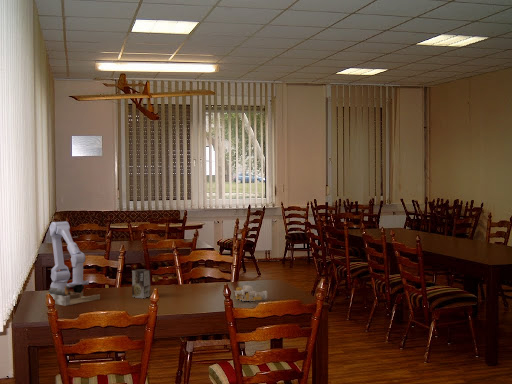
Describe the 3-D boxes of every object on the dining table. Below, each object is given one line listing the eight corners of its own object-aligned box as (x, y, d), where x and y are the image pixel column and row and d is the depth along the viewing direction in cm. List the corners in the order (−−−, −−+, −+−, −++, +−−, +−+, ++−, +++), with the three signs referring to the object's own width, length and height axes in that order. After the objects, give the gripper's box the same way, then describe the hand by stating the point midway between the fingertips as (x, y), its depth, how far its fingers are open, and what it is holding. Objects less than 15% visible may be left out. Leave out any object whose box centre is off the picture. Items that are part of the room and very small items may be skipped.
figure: (271, 300, 398) (272, 285, 397) (253, 305, 383) (254, 289, 383) (247, 297, 408) (247, 282, 407) (229, 301, 393) (229, 285, 393)
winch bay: (46, 303, 382) (46, 283, 382) (81, 296, 403) (81, 278, 402) (66, 306, 373) (66, 286, 373) (100, 299, 394) (100, 281, 393)
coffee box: (150, 297, 404) (151, 270, 404) (143, 298, 399) (143, 271, 398) (138, 295, 409) (139, 268, 408) (131, 297, 403) (131, 270, 403)
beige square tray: (57, 301, 384) (57, 293, 384) (70, 299, 391) (70, 291, 391) (68, 303, 379) (68, 295, 379) (81, 301, 386) (81, 293, 386)
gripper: (72, 276, 382) (72, 300, 382) (92, 273, 394) (92, 297, 394) (64, 275, 386) (64, 299, 386) (84, 272, 398) (84, 295, 398)
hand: (77, 298), depth 390 cm, fingers closed
